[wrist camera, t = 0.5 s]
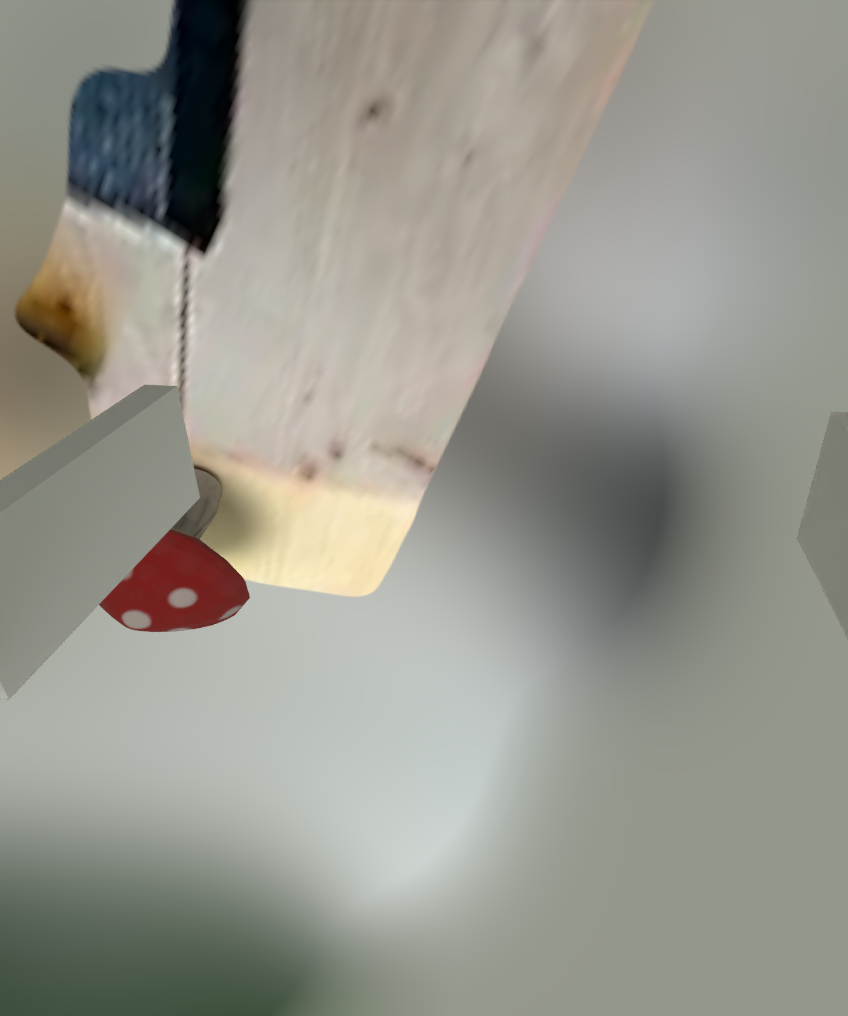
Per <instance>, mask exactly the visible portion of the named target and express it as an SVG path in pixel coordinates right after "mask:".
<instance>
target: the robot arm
mask: <svg viewBox="0 0 848 1016" xmlns="http://www.w3.org/2000/svg"><path fill="white" fill-rule="evenodd" d="M199 498H200V495H199V490H198V485H197V480H196V475H195V471H194V466H193V461H192V456H191V452H190V447H189V442H188V437H187V432H186V428H185V423H184V418H183V413H182V408H181V404H180V399H179V394H178V389H177V386H161V385H144V386H142V387H141V388H139V389H137V390H136V391H134V392H133V393H131V394H130V395H128V396H127V397H125V398H124V399H122V400H121V401H119V402H118V403H116V404H115V405H113V406H112V407H110V408H109V409H107V410H106V411H104V412H103V413H101V414H100V415H98V416H97V417H95V418H93V419H92V420H90V421H89V422H88V423H86V424H85V425H83V426H81V427H80V428H78V429H77V430H75V431H74V432H72V433H71V434H69V435H68V436H66V437H65V438H63V439H62V440H60V441H59V442H57V443H56V444H54V445H53V446H51V447H50V448H48V449H47V450H45V451H43V452H42V453H40V454H39V455H38V456H36V457H34V458H33V459H31V460H30V461H28V462H27V463H25V464H24V465H22V466H21V467H19V468H18V469H16V470H15V471H13V472H12V473H10V474H9V475H7V476H6V477H4V478H2V479H1V480H0V699H7V700H9V699H10V698H11V697H12V696H13V695H14V694H15V693H16V692H17V691H18V690H19V688H20V687H21V686H22V685H23V684H24V683H25V682H26V681H27V680H28V679H29V678H30V677H31V676H32V675H33V674H34V673H35V672H36V671H37V669H38V668H39V667H40V666H41V665H42V664H43V663H44V662H45V661H46V660H47V659H48V658H49V657H50V656H51V655H52V653H54V652H55V650H56V649H57V648H58V647H59V646H60V645H61V644H62V643H63V642H64V641H65V640H66V639H67V638H68V637H69V636H70V635H71V634H72V632H73V631H74V630H75V629H76V628H77V627H78V626H79V625H80V624H81V623H82V622H83V621H84V620H85V619H86V618H87V617H88V616H89V614H90V613H91V612H92V611H93V610H94V609H95V608H96V607H97V606H98V605H99V604H100V603H101V602H102V601H103V600H104V599H105V598H106V597H107V595H108V594H109V593H110V592H111V591H112V590H113V589H114V588H115V587H116V586H117V585H118V584H119V583H120V582H121V581H122V580H123V579H124V578H125V576H126V575H127V574H128V573H129V572H130V571H131V570H132V569H133V568H134V567H135V566H136V565H137V564H138V563H139V562H140V561H141V560H142V558H143V557H144V556H145V555H146V554H147V553H148V552H149V551H150V550H151V549H152V548H153V547H154V546H155V545H156V544H157V543H158V542H159V541H160V539H161V538H162V537H163V536H164V535H165V534H166V533H167V532H168V531H169V530H170V529H171V528H172V527H173V526H174V525H175V524H176V523H177V521H178V520H179V519H180V518H181V517H182V516H183V515H184V514H185V513H186V512H187V511H188V510H189V509H190V508H191V507H192V506H193V505H194V504H195V502H196V501H197V500H198V499H199ZM797 539H798V542H799V543H800V546H801V548H802V550H803V551H804V553H805V555H806V557H807V559H808V561H809V563H810V565H811V567H812V569H813V571H814V573H815V575H816V577H817V579H818V581H819V583H820V585H821V587H822V589H823V591H824V593H825V595H826V597H827V599H828V601H829V603H830V605H831V607H832V609H833V611H834V613H835V615H836V617H837V619H838V621H839V623H840V625H841V627H842V629H843V631H844V633H845V635H846V637H847V639H848V413H843V412H831V414H830V418H829V422H828V425H827V429H826V433H825V436H824V440H823V444H822V447H821V451H820V455H819V459H818V463H817V466H816V470H815V473H814V477H813V481H812V484H811V488H810V492H809V496H808V499H807V503H806V506H805V510H804V514H803V518H802V521H801V525H800V529H799V532H798V536H797Z"/></svg>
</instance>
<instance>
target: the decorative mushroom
mask: <svg viewBox="0 0 848 1016" xmlns="http://www.w3.org/2000/svg"><path fill="white" fill-rule="evenodd" d="M194 471H195V475H196V480H197V485H198V490H199V495H200V498H199V499H198V500H197V501H196V502H195V504H194V505H193V506H192V507H191V508H190V509H189V510H188V511H187V512H186V513H185V514H184V515H183V516H182V517H181V518H180V519H179V520H178V521H177V523H176V524H175V525H174V526H173V527H172V528H171V529H170V530H169V531H168V532H167V533H166V534H165V535H164V536H163V537H162V538H161V539H160V541H159V542H158V543H157V544H156V545H155V546H154V547H153V548H152V549H151V550H150V551H149V552H148V553H147V554H146V555H145V556H144V557H143V558H142V560H141V561H140V562H139V563H138V564H137V565H136V566H135V567H134V568H133V569H132V570H131V571H130V572H129V573H128V574H127V575H126V576H125V578H124V579H123V580H122V581H121V582H120V583H119V584H118V585H117V586H116V587H115V588H114V589H113V590H112V591H111V592H110V593H109V594H108V595H107V597H106V598H105V599H104V600H103V601H102V602H101V603H100V604H99V605H100V606H101V607H102V608H103V609H104V610H105V611H106V612H107V613H108V614H109V615H111V616H112V617H113V618H114V619H116V620H117V621H118V622H119V623H121V624H122V625H124V626H125V627H127V628H130V629H133V630H138V631H149V632H168V631H181V630H188V629H196V628H202V627H206V626H210V625H214V624H217V623H219V622H222V621H224V620H226V619H228V618H230V617H232V616H234V615H235V614H236V613H237V612H238V611H239V609H240V608H241V607H242V606H243V605H244V604H245V603H246V601H247V600H248V599H249V598H250V597H249V593H248V590H247V586H246V582H245V580H244V579H243V577H242V576H241V575H240V574H239V573H238V572H237V571H236V570H235V569H234V568H233V567H232V566H231V565H230V564H229V563H228V561H227V560H225V559H224V558H223V557H221V556H220V555H219V554H217V553H216V552H215V551H213V550H212V549H211V548H210V547H208V546H207V545H206V544H204V543H203V542H202V541H200V540H199V539H200V537H201V536H202V534H203V533H204V531H205V530H206V528H207V527H208V525H209V524H210V522H211V521H212V519H213V518H214V516H215V514H216V512H217V509H218V505H219V502H220V498H221V495H222V489H221V485H220V483H219V482H218V481H217V480H216V478H215V477H213V476H212V475H210V474H209V473H207V472H205V471H202V470H199V469H194Z"/></svg>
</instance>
